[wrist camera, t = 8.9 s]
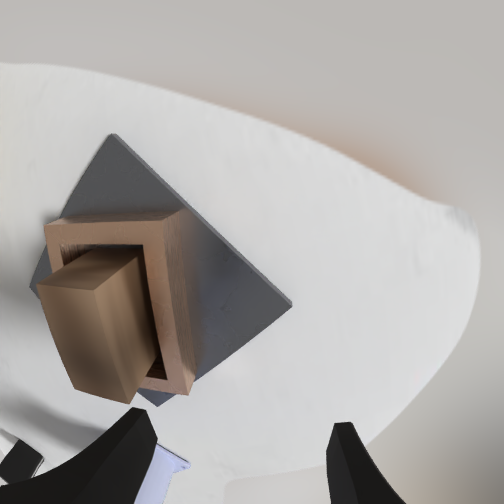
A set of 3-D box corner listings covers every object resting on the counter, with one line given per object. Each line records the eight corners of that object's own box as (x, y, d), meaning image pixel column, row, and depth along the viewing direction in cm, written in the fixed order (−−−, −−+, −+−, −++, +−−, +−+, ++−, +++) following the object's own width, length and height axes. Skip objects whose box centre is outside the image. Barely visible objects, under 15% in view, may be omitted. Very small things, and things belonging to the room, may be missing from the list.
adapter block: (147, 248, 17) (93, 290, 11) (163, 345, 19) (129, 404, 13) (95, 248, 17) (36, 284, 11) (115, 338, 19) (74, 389, 14)
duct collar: (159, 402, 22) (148, 427, 19) (33, 284, 20) (10, 299, 17) (291, 301, 18) (293, 329, 15) (116, 133, 15) (87, 131, 12)
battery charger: (22, 444, 35) (-1, 477, 24) (18, 437, 33) (-7, 471, 23) (47, 462, 35) (25, 498, 24) (44, 456, 34) (20, 493, 23)
